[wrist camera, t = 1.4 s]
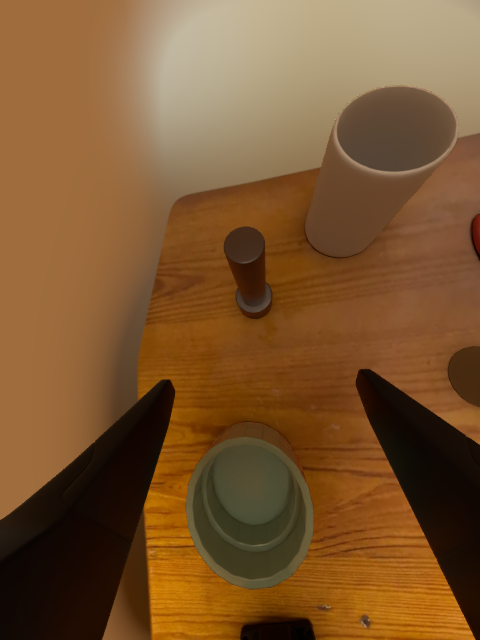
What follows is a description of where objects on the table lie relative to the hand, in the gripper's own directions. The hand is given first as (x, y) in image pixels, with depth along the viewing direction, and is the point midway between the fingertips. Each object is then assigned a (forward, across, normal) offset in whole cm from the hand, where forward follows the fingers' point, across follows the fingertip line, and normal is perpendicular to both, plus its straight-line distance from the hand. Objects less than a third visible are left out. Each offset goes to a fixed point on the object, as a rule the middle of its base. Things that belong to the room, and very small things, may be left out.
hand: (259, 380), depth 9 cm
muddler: (+15, 0, +4) cm, 16 cm away
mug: (+22, -12, -3) cm, 26 cm away
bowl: (+2, +2, +17) cm, 17 cm away
